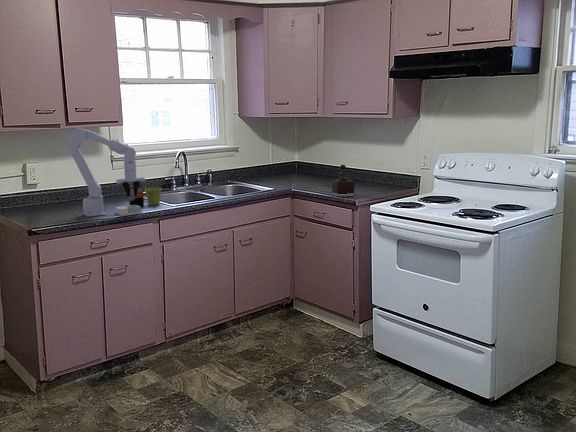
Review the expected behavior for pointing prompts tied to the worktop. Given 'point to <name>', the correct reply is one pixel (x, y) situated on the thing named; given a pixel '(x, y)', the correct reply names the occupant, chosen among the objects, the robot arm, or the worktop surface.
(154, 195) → the plant pot
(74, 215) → the worktop surface
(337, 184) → the brown bottle
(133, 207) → the charger
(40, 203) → the worktop surface
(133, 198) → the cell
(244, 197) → the worktop surface
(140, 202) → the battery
